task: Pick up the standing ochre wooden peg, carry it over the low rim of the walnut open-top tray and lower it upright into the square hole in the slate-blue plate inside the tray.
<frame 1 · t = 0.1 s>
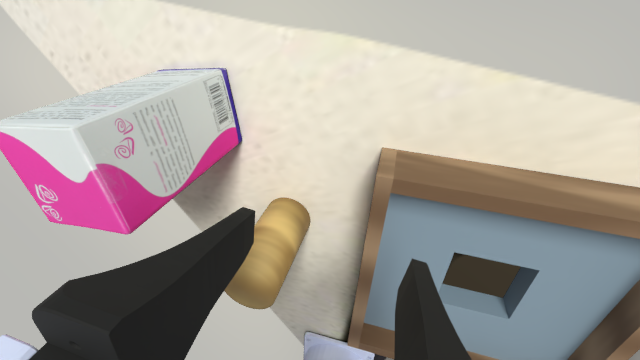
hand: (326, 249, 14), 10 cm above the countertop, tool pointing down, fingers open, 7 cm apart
bore plate: (480, 276, 23), in the tray
peg: (288, 216, 27), on the countertop
supplement box: (203, 106, 24), on the countertop
tray: (478, 267, 24), on the countertop
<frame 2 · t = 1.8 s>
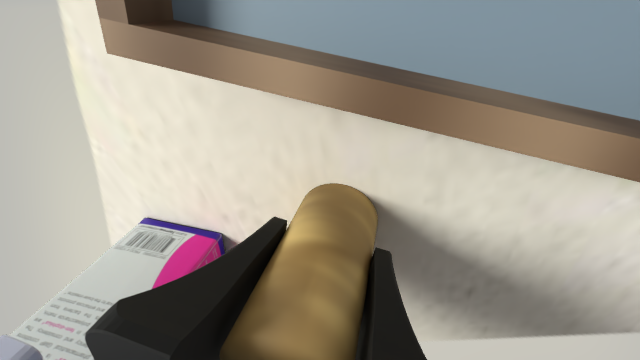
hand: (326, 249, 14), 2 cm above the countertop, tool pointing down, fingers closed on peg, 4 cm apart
peg: (338, 217, 16), on the countertop, touching gripper
supplement box: (194, 255, 21), on the countertop
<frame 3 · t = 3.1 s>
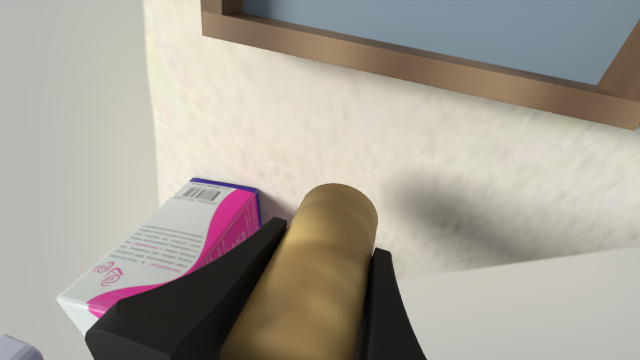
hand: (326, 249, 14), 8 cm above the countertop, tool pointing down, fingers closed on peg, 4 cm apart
peg: (338, 216, 16), point 5 cm above the countertop, touching gripper
supplement box: (231, 210, 25), on the countertop
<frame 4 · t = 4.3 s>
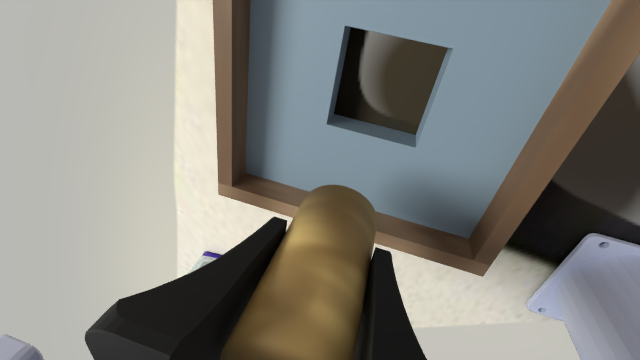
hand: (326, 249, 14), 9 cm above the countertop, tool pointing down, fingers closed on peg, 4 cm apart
bore plate: (384, 86, 18), in the tray
peg: (338, 217, 16), point 7 cm above the countertop, touching gripper
tray: (385, 82, 18), on the countertop
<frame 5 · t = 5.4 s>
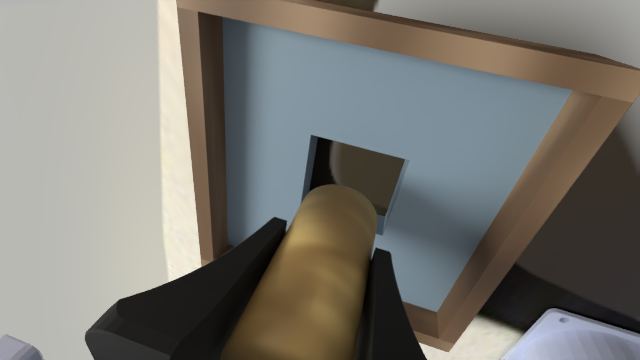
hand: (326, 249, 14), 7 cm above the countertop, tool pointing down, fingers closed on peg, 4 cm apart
bore plate: (351, 179, 19), in the tray
peg: (338, 217, 16), point 5 cm above the countertop, touching gripper
tray: (354, 172, 20), on the countertop
when the fingers open (4 cm above the countertop, at t = 6.5 s): peg drops 1 cm, resting in bore plate.
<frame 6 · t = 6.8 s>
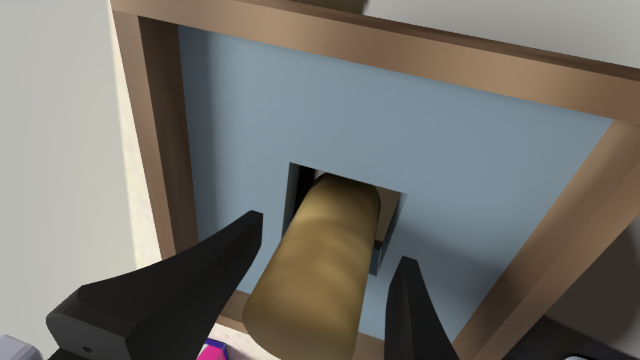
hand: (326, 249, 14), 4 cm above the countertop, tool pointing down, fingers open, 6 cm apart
bore plate: (340, 211, 16), in the tray
peg: (343, 201, 17), resting in bore plate
supplement box: (206, 349, 31), on the countertop
tray: (344, 200, 17), on the countertop
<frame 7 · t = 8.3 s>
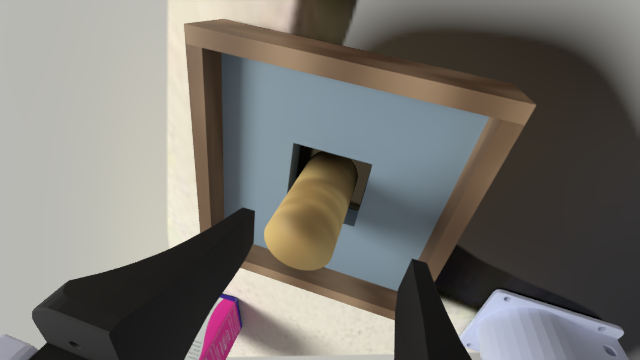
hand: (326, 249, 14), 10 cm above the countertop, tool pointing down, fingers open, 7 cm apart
bore plate: (328, 179, 22), in the tray
peg: (331, 173, 23), resting in bore plate
supplement box: (220, 305, 37), on the countertop
tray: (331, 173, 23), on the countertop
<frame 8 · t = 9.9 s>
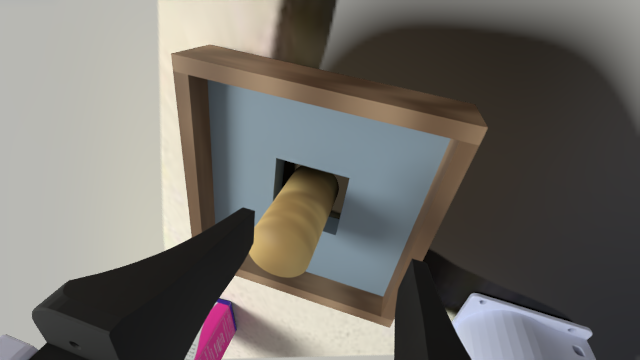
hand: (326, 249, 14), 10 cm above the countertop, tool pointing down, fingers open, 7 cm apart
bore plate: (311, 191, 24), in the tray
peg: (314, 185, 25), resting in bore plate
supplement box: (215, 309, 39), on the countertop
tray: (314, 184, 25), on the countertop
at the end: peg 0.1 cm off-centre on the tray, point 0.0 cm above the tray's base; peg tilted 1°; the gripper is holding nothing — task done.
